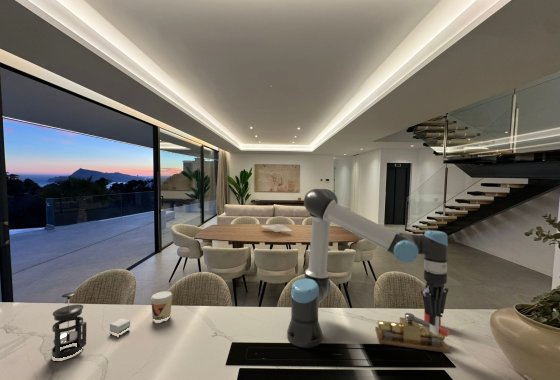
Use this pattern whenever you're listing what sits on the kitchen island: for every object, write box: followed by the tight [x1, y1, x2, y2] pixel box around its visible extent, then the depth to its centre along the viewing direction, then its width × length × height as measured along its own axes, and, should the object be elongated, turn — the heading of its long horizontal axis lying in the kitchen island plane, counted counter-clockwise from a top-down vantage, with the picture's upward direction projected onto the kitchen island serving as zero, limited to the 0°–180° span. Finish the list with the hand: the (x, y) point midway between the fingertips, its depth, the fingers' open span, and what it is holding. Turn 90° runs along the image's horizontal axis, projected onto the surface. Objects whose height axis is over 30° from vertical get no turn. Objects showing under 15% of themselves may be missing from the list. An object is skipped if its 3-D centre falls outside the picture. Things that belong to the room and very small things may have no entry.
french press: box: [51, 292, 87, 358], centre depth 94 cm, size 12×9×23 cm
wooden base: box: [374, 317, 450, 354], centre depth 104 cm, size 26×10×9 cm, turn 77°
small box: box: [109, 317, 131, 334], centre depth 108 cm, size 6×6×5 cm
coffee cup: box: [150, 290, 173, 320], centre depth 119 cm, size 9×9×12 cm
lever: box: [404, 312, 451, 338], centre depth 98 cm, size 16×4×2 cm, turn 34°
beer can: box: [423, 307, 442, 327], centre depth 115 cm, size 7×7×12 cm
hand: (434, 332), depth 94 cm, fingers closed
